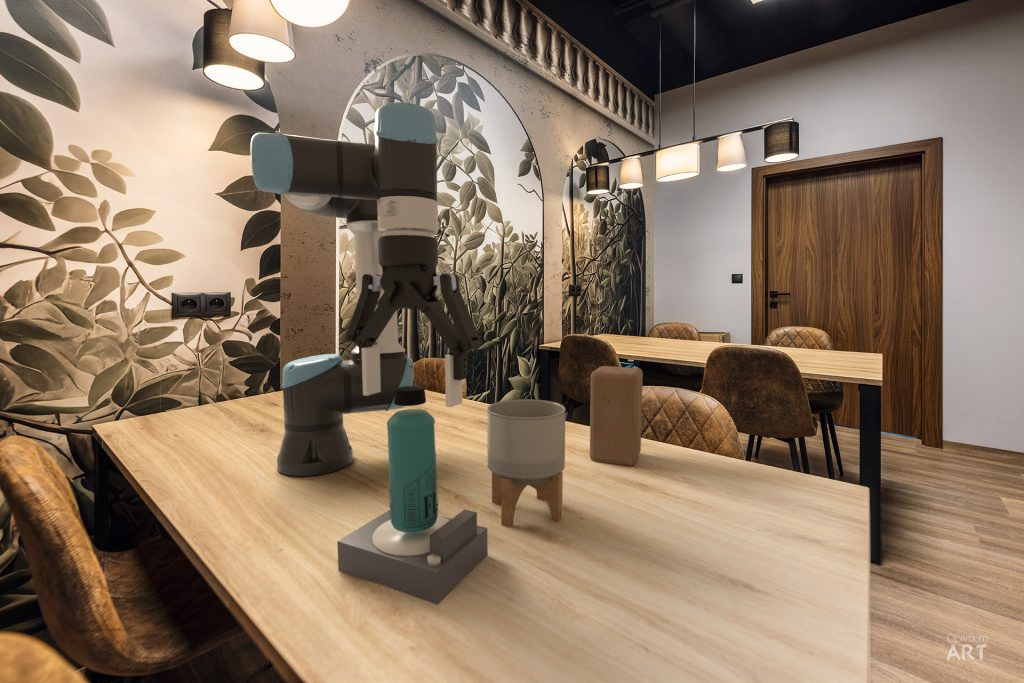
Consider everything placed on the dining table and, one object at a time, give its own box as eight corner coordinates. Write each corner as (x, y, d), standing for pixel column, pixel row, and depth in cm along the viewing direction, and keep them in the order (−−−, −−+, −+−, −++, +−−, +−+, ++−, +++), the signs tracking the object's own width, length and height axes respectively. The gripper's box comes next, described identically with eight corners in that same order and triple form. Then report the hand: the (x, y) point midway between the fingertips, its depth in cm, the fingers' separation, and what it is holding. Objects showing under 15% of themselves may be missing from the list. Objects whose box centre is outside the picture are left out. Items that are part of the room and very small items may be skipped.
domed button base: (338, 569, 63) (336, 519, 62) (397, 529, 74) (396, 486, 73) (437, 604, 56) (436, 548, 55) (487, 554, 67) (487, 507, 66)
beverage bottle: (428, 546, 61) (424, 392, 59) (380, 541, 62) (375, 390, 60) (445, 522, 67) (442, 383, 65) (401, 518, 68) (397, 381, 66)
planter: (541, 537, 72) (542, 422, 70) (472, 516, 78) (471, 410, 77) (576, 505, 83) (578, 404, 81) (513, 489, 89) (513, 396, 88)
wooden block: (588, 461, 104) (590, 371, 102) (598, 448, 113) (599, 365, 111) (635, 467, 100) (637, 374, 98) (641, 453, 110) (643, 367, 108)
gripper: (314, 237, 63) (321, 394, 65) (477, 227, 52) (477, 417, 54) (356, 242, 69) (360, 384, 72) (508, 234, 58) (507, 403, 61)
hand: (411, 399), depth 63 cm, fingers open, 13 cm apart
